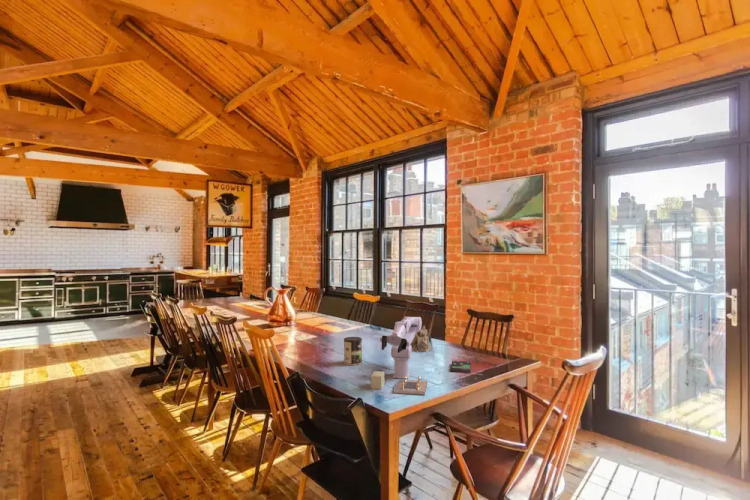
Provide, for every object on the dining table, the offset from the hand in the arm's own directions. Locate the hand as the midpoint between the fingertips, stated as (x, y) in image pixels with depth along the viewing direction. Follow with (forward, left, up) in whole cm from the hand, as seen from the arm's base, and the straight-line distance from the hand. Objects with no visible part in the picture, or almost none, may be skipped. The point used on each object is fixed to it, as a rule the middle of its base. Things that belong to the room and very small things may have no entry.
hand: (390, 349), depth 194 cm
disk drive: (-40, +32, -19) cm, 55 cm away
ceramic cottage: (-80, +5, -19) cm, 83 cm away
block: (-3, -7, -19) cm, 20 cm away
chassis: (-3, +9, -19) cm, 21 cm away
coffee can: (-40, -29, -19) cm, 53 cm away
